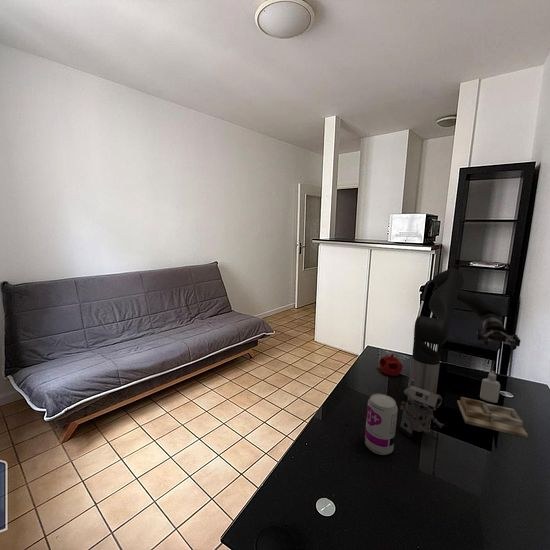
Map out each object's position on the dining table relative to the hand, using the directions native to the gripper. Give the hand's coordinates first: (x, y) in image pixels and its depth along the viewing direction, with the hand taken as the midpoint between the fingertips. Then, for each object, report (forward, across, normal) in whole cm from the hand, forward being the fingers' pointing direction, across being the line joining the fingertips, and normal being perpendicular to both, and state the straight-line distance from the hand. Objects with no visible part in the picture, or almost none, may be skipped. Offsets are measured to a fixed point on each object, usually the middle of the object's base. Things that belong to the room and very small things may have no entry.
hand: (500, 345), depth 115 cm
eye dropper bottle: (+11, -3, +19) cm, 22 cm away
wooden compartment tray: (+25, -5, +16) cm, 31 cm away
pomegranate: (+8, -40, +19) cm, 45 cm away
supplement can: (+59, -37, +11) cm, 70 cm away
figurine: (+47, -26, +13) cm, 55 cm away
